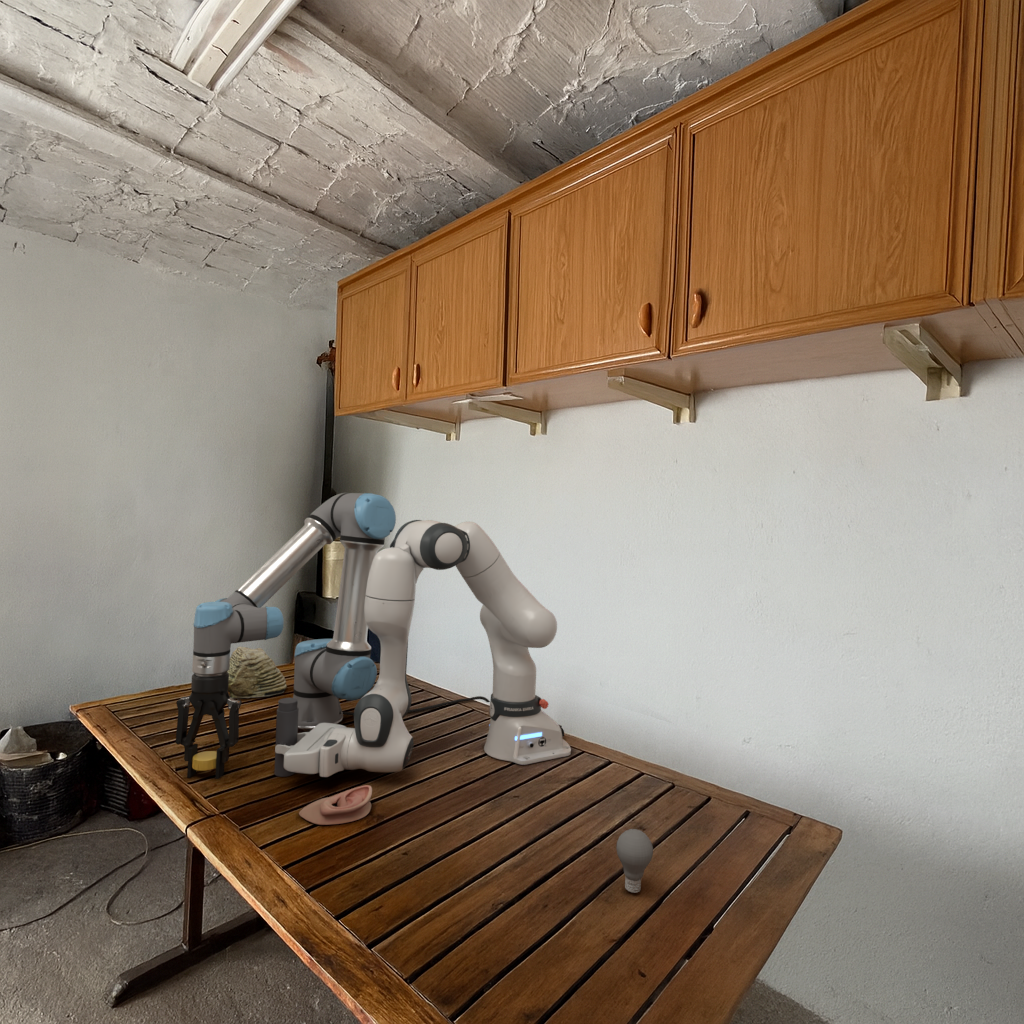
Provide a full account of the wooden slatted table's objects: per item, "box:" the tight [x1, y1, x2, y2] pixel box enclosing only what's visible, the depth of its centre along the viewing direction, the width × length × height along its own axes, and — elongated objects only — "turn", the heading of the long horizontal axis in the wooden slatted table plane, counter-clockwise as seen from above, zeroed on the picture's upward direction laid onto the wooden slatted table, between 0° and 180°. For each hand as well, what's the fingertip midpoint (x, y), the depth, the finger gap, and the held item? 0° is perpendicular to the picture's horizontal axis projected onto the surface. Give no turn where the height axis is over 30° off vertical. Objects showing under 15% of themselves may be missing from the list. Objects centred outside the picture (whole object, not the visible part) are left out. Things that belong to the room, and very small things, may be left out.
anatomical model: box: [298, 784, 373, 826], centre depth 127 cm, size 13×4×12 cm
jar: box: [274, 697, 299, 778], centre depth 144 cm, size 5×5×16 cm
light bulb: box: [615, 828, 654, 894], centre depth 106 cm, size 6×6×10 cm
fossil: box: [227, 646, 288, 699], centre depth 198 cm, size 9×18×15 cm, turn 132°
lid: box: [192, 750, 217, 772], centre depth 141 cm, size 6×6×2 cm
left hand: (205, 775), depth 141 cm, fingers closed on lid, 5 cm apart
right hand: (282, 742), depth 145 cm, fingers closed on jar, 5 cm apart
